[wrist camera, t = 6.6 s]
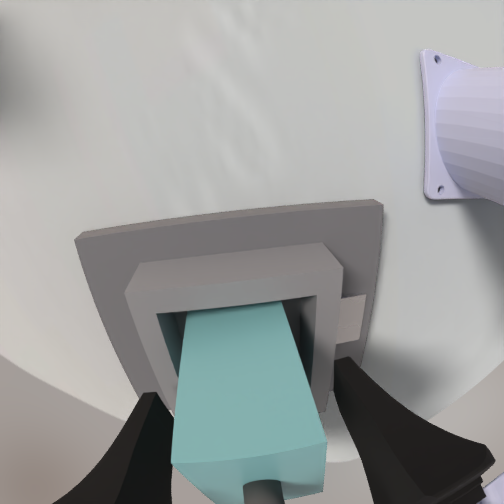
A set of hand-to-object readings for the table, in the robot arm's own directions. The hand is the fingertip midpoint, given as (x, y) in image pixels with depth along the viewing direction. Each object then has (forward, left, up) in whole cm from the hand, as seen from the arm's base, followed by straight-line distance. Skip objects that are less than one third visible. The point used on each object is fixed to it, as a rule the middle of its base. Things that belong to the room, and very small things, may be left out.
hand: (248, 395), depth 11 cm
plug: (0, 0, -4) cm, 4 cm away
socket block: (0, 0, -5) cm, 5 cm away
